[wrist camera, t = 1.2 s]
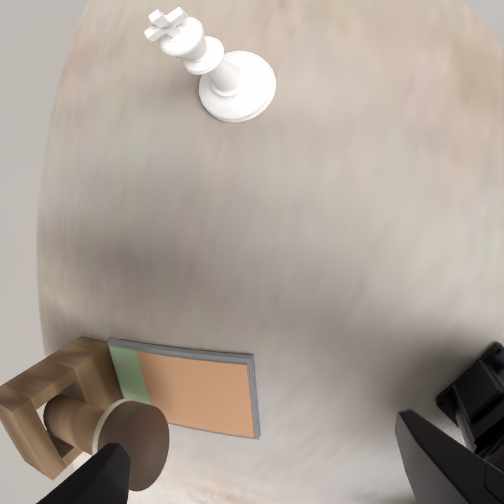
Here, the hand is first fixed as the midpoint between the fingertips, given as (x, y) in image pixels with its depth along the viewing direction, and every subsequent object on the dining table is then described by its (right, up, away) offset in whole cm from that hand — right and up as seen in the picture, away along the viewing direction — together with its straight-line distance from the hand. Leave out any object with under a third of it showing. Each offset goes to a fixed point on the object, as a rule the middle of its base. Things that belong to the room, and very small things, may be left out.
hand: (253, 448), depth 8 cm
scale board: (-6, -5, +15) cm, 17 cm away
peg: (-10, -6, +12) cm, 17 cm away
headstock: (-14, -6, +18) cm, 23 cm away
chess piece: (-1, +16, +10) cm, 19 cm away
